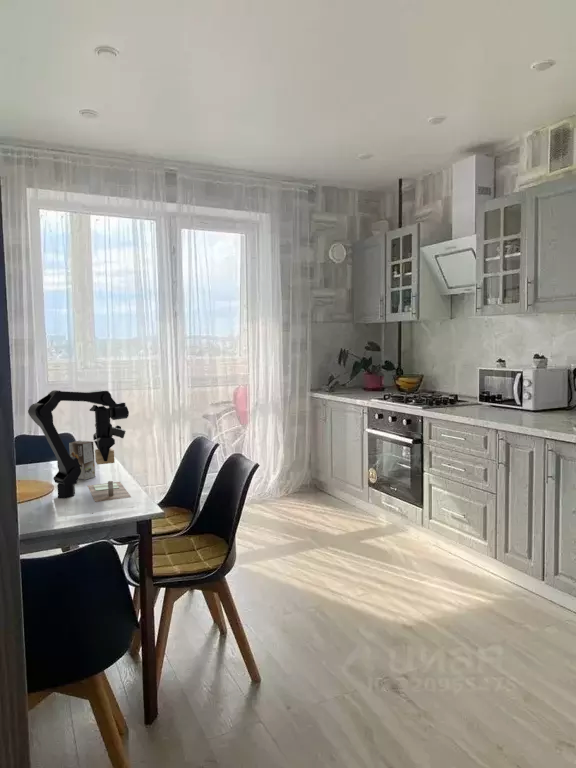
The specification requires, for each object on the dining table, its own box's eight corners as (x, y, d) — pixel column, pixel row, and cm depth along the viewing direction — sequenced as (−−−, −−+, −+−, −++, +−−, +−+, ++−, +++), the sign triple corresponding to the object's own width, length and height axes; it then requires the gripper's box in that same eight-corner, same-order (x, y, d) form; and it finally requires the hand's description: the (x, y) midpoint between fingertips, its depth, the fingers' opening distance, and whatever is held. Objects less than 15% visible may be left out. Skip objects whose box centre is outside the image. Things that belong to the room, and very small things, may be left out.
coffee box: (96, 476, 256) (94, 441, 254) (85, 480, 250) (83, 443, 249) (81, 475, 260) (79, 440, 259) (70, 478, 254) (68, 442, 253)
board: (131, 500, 215) (130, 483, 214) (95, 505, 209) (94, 487, 209) (120, 484, 240) (119, 469, 239) (87, 488, 234) (86, 472, 234)
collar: (114, 462, 228) (113, 450, 228) (97, 464, 226) (96, 452, 225) (112, 460, 234) (111, 448, 234) (95, 461, 232) (95, 449, 231)
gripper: (127, 422, 224) (129, 461, 225) (119, 417, 241) (121, 454, 242) (97, 424, 219) (99, 464, 220) (92, 419, 236) (94, 456, 237)
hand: (104, 459), depth 230 cm, fingers closed on collar, 6 cm apart
